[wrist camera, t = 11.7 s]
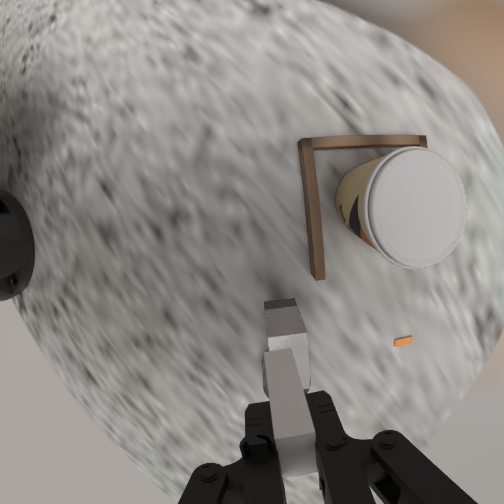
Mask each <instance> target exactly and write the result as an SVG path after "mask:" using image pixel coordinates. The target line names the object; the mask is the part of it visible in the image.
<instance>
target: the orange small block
mask: <svg viewBox="0 0 504 504" xmlns="http://www.w3.org/2000/svg"><path fill="white" fill-rule="evenodd" d="M411 340H412V336H407V337H403V338H399V339H395V342H394V346H400V345H404V344H408V343H411Z"/></svg>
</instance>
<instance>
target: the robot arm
mask: <svg viewBox="0 0 504 504" xmlns="http://www.w3.org/2000/svg"><path fill="white" fill-rule="evenodd" d="M33 264H34V244H33V237H32V232H31V228H30V224H29V222H28V219H27V216H26V214H25V212H24V210H23V209H22V207H21V205H20V204H19V203H18V201H17V200H16V199H15V198H14V197H13V196H11V195H10V194H8V193H6V192H3V191H0V301H4V300H8V299H10V298H12V297H14V296H16V295H18V294H19V293H21V292H22V291H23V290H24V289H25V287H26V286H27V284H28V282H29V280H30V278H31V274H32V270H33ZM264 360H265V368H266V376H267V384H268V392H269V400H270V401H267V402H260V403H253V404H249V405H248V407H247V409H246V410H245V437H244V438H243V439H242V441H241V442H240V446H239V447H240V450H241V453H242V456H243V457H242V458H241V459H240V460H238V461H237V462H235V463H232V464H230V465H227V466H224V467H222V466H221V465H220V464H216V463H206V464H203V465H200V466H199V467H197V468H196V469H195V470H194V472H193V473H192V475H191V477H190V480H189V482H188V484H187V486H186V488H185V490H184V492H183V494H182V496H181V498H180V500H179V502H178V504H287V503H286V496H285V489H284V483H283V478H285V477H292V476H297V475H303V474H308V473H313V472H318V473H319V486H320V490H321V491H322V495H323V499H324V503H325V504H376V503H375V500H374V498H373V495H372V492H371V490H370V487H371V488H372V489H373V491H374V492H375V493H376V494H377V496H378V497H379V498H380V499H381V500H382V501H383V503H384V504H478V503H477V502H475V501H474V500H473V499H472V498H471V497H470V496H469V495H468V494H466V493H465V492H464V491H463V490H462V489H461V488H460V487H459V486H458V485H456V484H455V483H454V482H453V481H452V480H451V479H450V478H449V477H448V476H447V475H445V474H444V473H443V472H442V471H441V470H440V469H439V468H438V467H437V466H435V465H434V464H433V463H432V462H431V461H430V460H429V459H428V458H427V457H426V456H425V455H424V454H423V453H422V452H420V451H419V450H418V449H417V448H416V447H415V446H414V445H413V444H412V443H411V442H410V441H409V440H408V439H407V438H406V437H404V436H403V435H402V434H401V433H399V432H398V431H394V430H385V431H382V432H379V433H378V434H376V435H375V436H374V438H373V439H367V440H360V439H354V438H351V437H350V436H348V435H347V434H346V433H345V431H344V429H343V427H342V424H341V422H340V419H339V416H338V414H337V411H336V409H335V406H334V404H333V401H332V399H331V396H330V395H329V394H328V393H326V392H325V391H324V390H323V391H318V392H313V393H308V394H304V390H303V387H302V383H301V380H300V376H299V373H298V369H297V366H296V362H295V359H294V355H293V352H292V349H291V348H285V349H280V350H274V351H268V352H264ZM369 486H370V487H369Z"/></svg>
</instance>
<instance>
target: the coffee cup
mask: <svg viewBox="0 0 504 504" xmlns="http://www.w3.org/2000/svg"><path fill="white" fill-rule="evenodd" d="M335 201H336V209H337V213H338V215H339V217H340V219H341V221H342V222H343V224H344V225H345V226H346V227H347V228H348V229H349V230H351V231H352V232H353V233H354V234H356V235H357V236H358V237H360V238H361V239H362V240H364V241H365V242H366V243H368V244H369V245H370V246H372V247H373V248H375V249H376V250H377V251H378V252H379V253H380V254H381V255H382V256H383V257H385V258H386V259H387V260H388V261H390V262H391V263H393V264H395V265H397V266H400V267H403V268H407V269H421V268H426V267H429V266H431V265H434V264H436V263H438V262H440V261H441V260H443V259H444V258H445V257H447V256H448V255H449V254H450V253H451V251H452V250H453V249H454V248H455V246H456V245H457V243H458V241H459V240H460V238H461V235H462V233H463V230H464V227H465V222H466V216H467V201H466V194H465V190H464V187H463V184H462V181H461V179H460V177H459V175H458V174H457V172H456V170H455V169H454V168H453V166H452V165H451V164H450V163H449V162H448V161H447V160H446V159H444V158H443V157H442V156H441V155H439V154H438V153H436V152H434V151H432V150H430V149H427V148H424V147H417V146H408V147H403V148H400V149H397V150H395V151H393V152H391V153H389V154H388V155H385V156H382V157H380V158H377V159H375V160H372V161H370V162H367V163H365V164H362V165H360V166H357V167H356V168H354V169H352V170H350V171H349V172H348V173H347V174H346V175H345V176H344V177H343V178H342V180H341V181H340V183H339V185H338V188H337V191H336V199H335Z"/></svg>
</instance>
